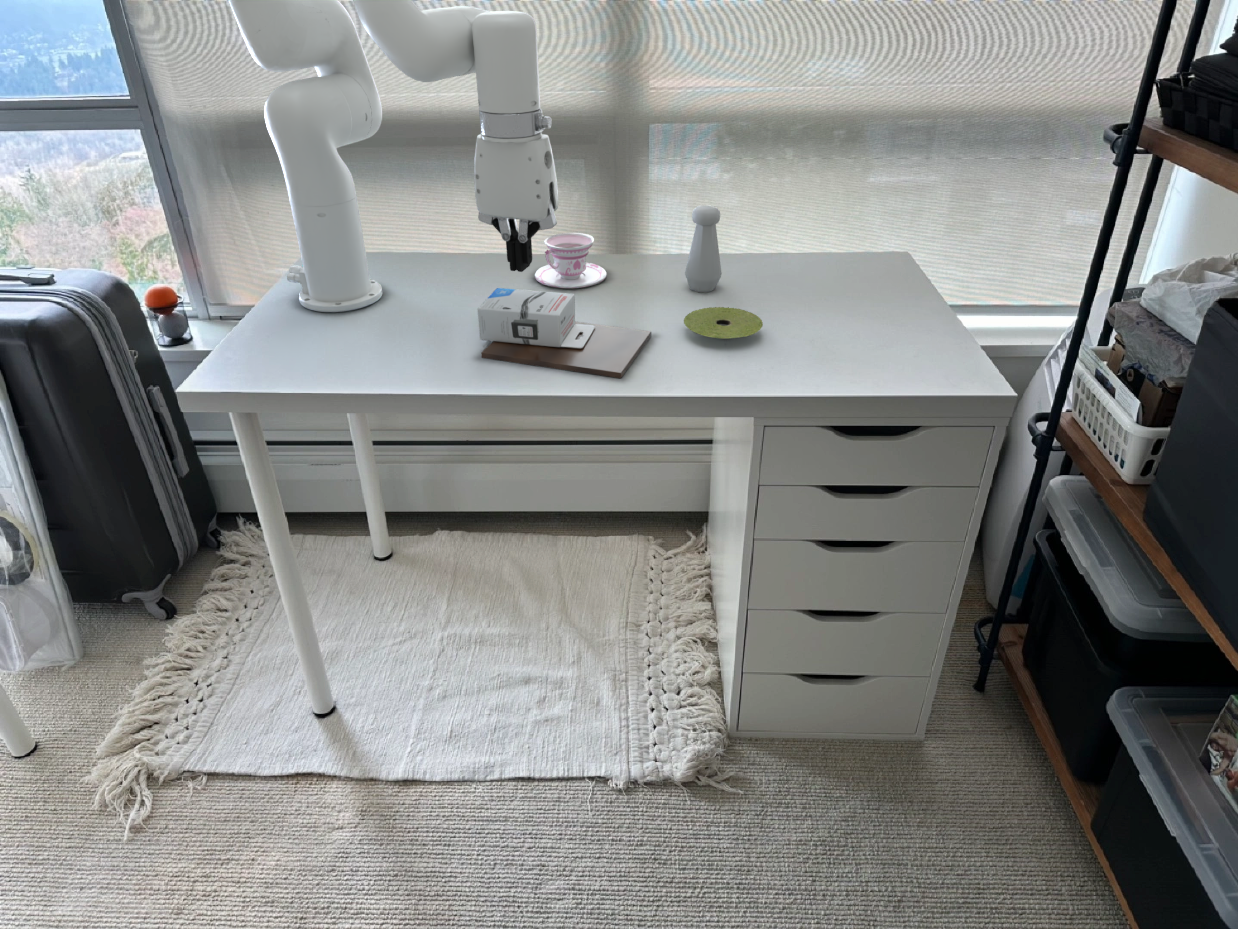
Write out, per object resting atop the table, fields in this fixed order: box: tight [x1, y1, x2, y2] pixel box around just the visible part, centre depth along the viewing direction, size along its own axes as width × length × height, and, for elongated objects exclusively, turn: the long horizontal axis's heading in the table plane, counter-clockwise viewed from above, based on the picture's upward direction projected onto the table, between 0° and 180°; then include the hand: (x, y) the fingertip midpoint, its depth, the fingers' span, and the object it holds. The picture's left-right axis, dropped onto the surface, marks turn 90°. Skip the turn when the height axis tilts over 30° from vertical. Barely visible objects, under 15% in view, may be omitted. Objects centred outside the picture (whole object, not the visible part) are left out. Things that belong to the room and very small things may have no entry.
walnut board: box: [480, 320, 652, 379], centre depth 119 cm, size 20×14×1 cm
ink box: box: [477, 287, 595, 349], centre depth 120 cm, size 9×5×15 cm
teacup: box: [534, 232, 607, 289], centre depth 141 cm, size 12×12×6 cm
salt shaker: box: [684, 204, 723, 293], centre depth 135 cm, size 6×6×13 cm
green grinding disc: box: [683, 306, 764, 340], centre depth 123 cm, size 11×11×2 cm
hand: (520, 267), depth 116 cm, fingers closed
